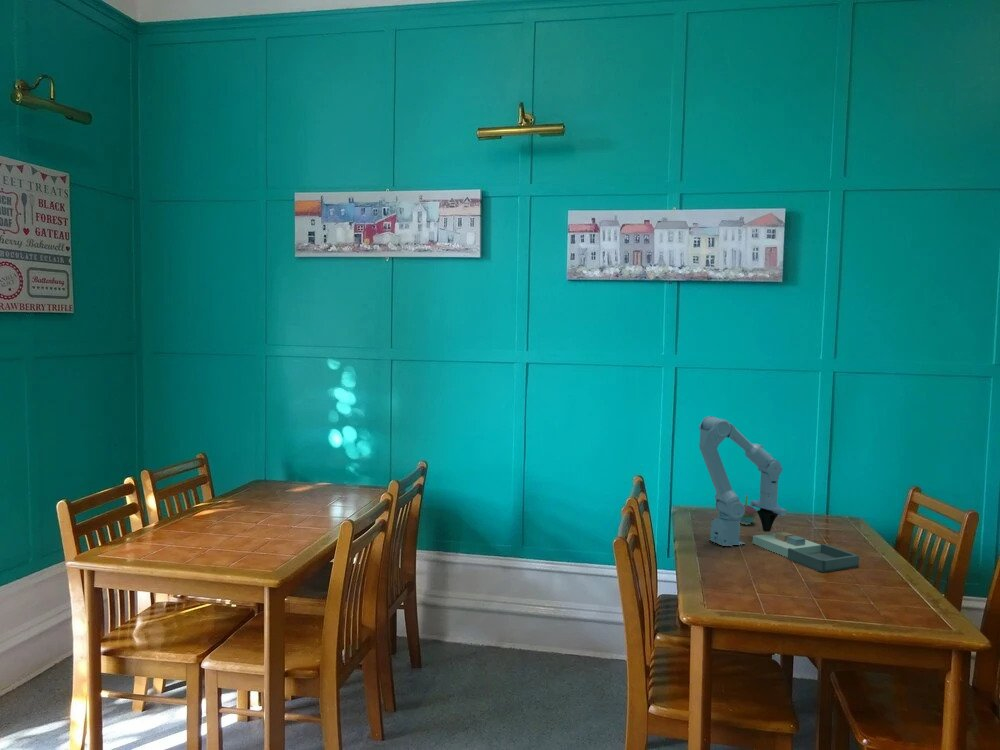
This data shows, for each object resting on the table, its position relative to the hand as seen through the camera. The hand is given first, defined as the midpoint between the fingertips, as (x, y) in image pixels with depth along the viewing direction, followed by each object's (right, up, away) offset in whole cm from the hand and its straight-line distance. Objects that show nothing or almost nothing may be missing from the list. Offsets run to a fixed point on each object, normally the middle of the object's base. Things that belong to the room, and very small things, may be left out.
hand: (766, 531), depth 246 cm
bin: (+10, -5, -21) cm, 24 cm away
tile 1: (+3, -1, -7) cm, 8 cm away
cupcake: (0, -3, +24) cm, 24 cm away
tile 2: (+5, -2, -12) cm, 13 cm away
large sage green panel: (+4, -4, -8) cm, 10 cm away
